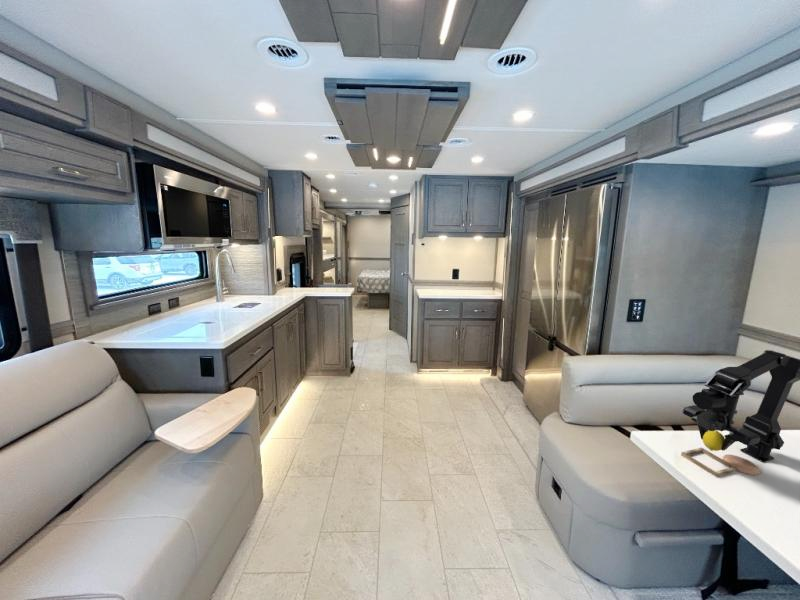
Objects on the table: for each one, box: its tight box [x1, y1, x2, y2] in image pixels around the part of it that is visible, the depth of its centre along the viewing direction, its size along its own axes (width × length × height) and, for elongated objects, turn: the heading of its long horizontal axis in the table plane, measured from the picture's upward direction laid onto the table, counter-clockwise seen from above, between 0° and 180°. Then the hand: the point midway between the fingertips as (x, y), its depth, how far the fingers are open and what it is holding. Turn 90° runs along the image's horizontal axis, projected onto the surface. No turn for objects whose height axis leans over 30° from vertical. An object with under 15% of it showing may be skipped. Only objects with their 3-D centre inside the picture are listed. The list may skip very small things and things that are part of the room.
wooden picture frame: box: [680, 447, 738, 478], centre depth 110 cm, size 11×11×1 cm
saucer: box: [722, 454, 761, 476], centre depth 109 cm, size 9×9×1 cm
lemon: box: [702, 430, 725, 452], centre depth 108 cm, size 6×6×8 cm
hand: (712, 444), depth 108 cm, fingers closed on lemon, 5 cm apart
